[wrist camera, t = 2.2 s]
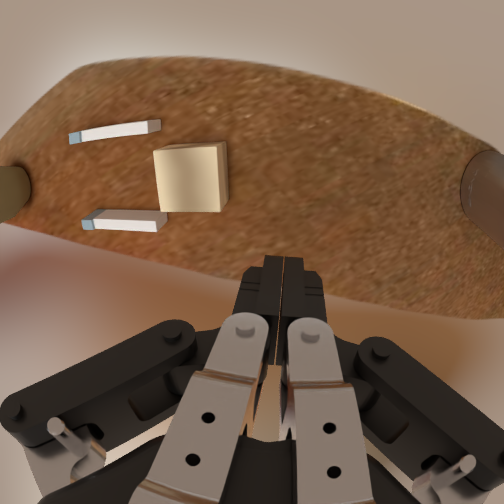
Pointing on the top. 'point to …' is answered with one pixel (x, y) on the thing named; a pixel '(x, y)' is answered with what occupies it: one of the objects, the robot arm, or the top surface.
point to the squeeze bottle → (13, 191)
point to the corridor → (121, 218)
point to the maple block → (192, 177)
